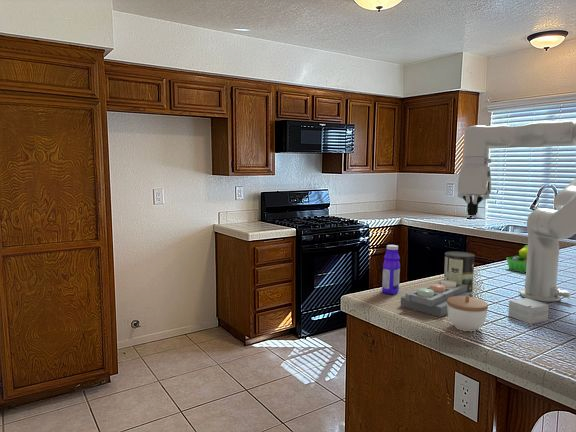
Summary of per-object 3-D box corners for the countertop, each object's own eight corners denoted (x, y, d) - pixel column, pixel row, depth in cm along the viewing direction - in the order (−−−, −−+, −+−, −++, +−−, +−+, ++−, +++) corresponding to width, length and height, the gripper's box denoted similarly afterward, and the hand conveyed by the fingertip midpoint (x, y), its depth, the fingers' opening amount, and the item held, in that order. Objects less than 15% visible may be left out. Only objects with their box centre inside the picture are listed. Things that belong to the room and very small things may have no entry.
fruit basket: (504, 268, 194) (506, 244, 193) (517, 266, 198) (519, 242, 196) (527, 274, 184) (529, 248, 182) (540, 272, 187) (542, 247, 186)
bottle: (386, 288, 160) (387, 243, 158) (400, 291, 157) (402, 244, 155) (379, 293, 154) (381, 246, 152) (395, 296, 151) (396, 247, 149)
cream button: (458, 290, 147) (458, 281, 147) (451, 293, 144) (452, 284, 143) (444, 287, 151) (445, 279, 151) (437, 289, 147) (438, 281, 147)
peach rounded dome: (447, 294, 142) (448, 286, 141) (440, 297, 138) (441, 289, 138) (433, 291, 145) (434, 283, 145) (426, 294, 142) (426, 285, 142)
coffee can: (469, 288, 161) (471, 251, 160) (475, 296, 151) (477, 257, 150) (440, 286, 163) (442, 250, 162) (445, 294, 153) (447, 256, 152)
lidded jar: (483, 338, 114) (485, 304, 113) (441, 329, 119) (443, 297, 118) (488, 325, 123) (490, 294, 122) (449, 318, 128) (451, 288, 127)
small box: (524, 312, 135) (525, 297, 134) (548, 321, 127) (549, 304, 127) (507, 316, 132) (508, 300, 131) (530, 324, 124) (531, 307, 124)
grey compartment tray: (473, 300, 146) (474, 286, 145) (438, 318, 129) (439, 302, 128) (435, 292, 156) (435, 278, 155) (398, 307, 139) (398, 292, 138)
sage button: (436, 299, 136) (436, 290, 136) (428, 303, 133) (428, 293, 133) (421, 296, 140) (422, 287, 140) (414, 299, 136) (414, 290, 136)
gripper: (502, 162, 143) (498, 216, 146) (458, 162, 154) (456, 212, 156) (493, 162, 138) (489, 217, 140) (449, 162, 149) (446, 214, 151)
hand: (472, 215), depth 148 cm, fingers closed
